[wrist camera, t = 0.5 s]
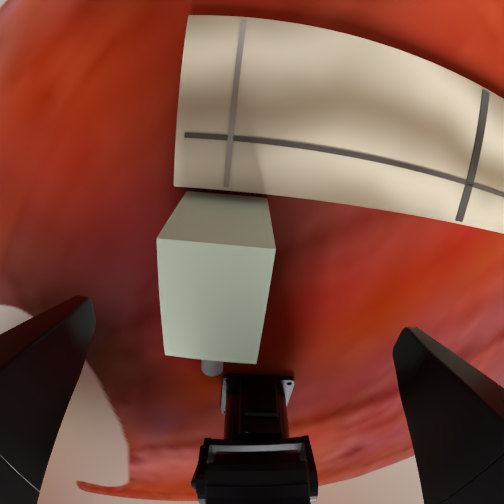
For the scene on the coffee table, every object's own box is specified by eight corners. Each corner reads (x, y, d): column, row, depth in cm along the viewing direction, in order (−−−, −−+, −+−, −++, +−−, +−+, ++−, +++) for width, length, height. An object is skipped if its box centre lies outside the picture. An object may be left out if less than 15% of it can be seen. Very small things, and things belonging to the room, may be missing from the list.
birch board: (507, 229, 20) (517, 237, 18) (179, 180, 18) (173, 186, 17) (532, 122, 15) (544, 126, 14) (192, 21, 14) (187, 14, 12)
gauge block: (250, 322, 24) (250, 395, 17) (186, 316, 23) (169, 387, 17) (267, 197, 19) (275, 249, 13) (186, 190, 19) (156, 238, 13)
